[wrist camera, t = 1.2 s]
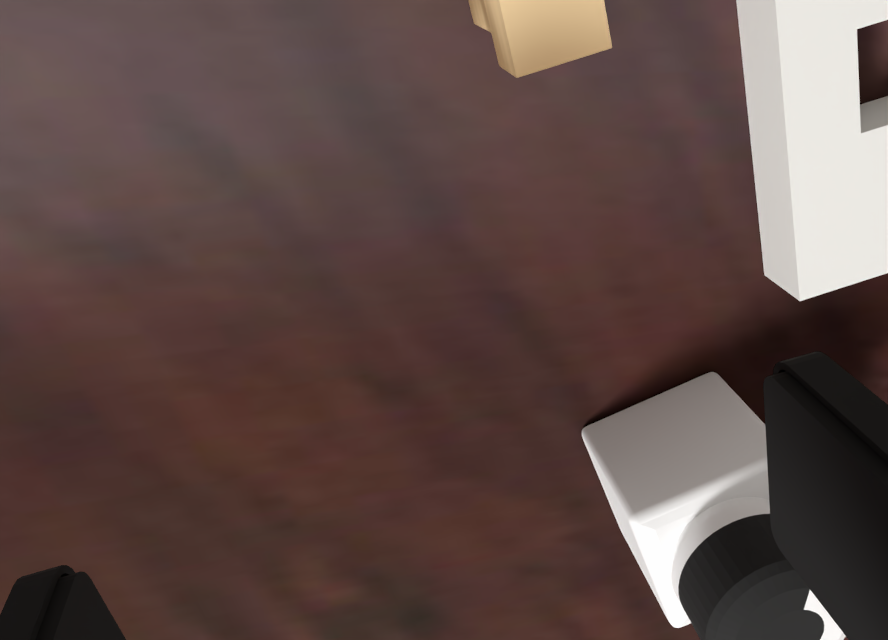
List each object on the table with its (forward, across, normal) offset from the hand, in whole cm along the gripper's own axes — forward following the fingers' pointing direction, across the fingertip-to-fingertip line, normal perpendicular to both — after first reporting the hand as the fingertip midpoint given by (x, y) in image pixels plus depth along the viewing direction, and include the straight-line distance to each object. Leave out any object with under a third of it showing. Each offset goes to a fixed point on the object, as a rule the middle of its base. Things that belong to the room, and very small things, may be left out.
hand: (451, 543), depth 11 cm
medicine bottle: (+24, -11, +19) cm, 32 cm away
